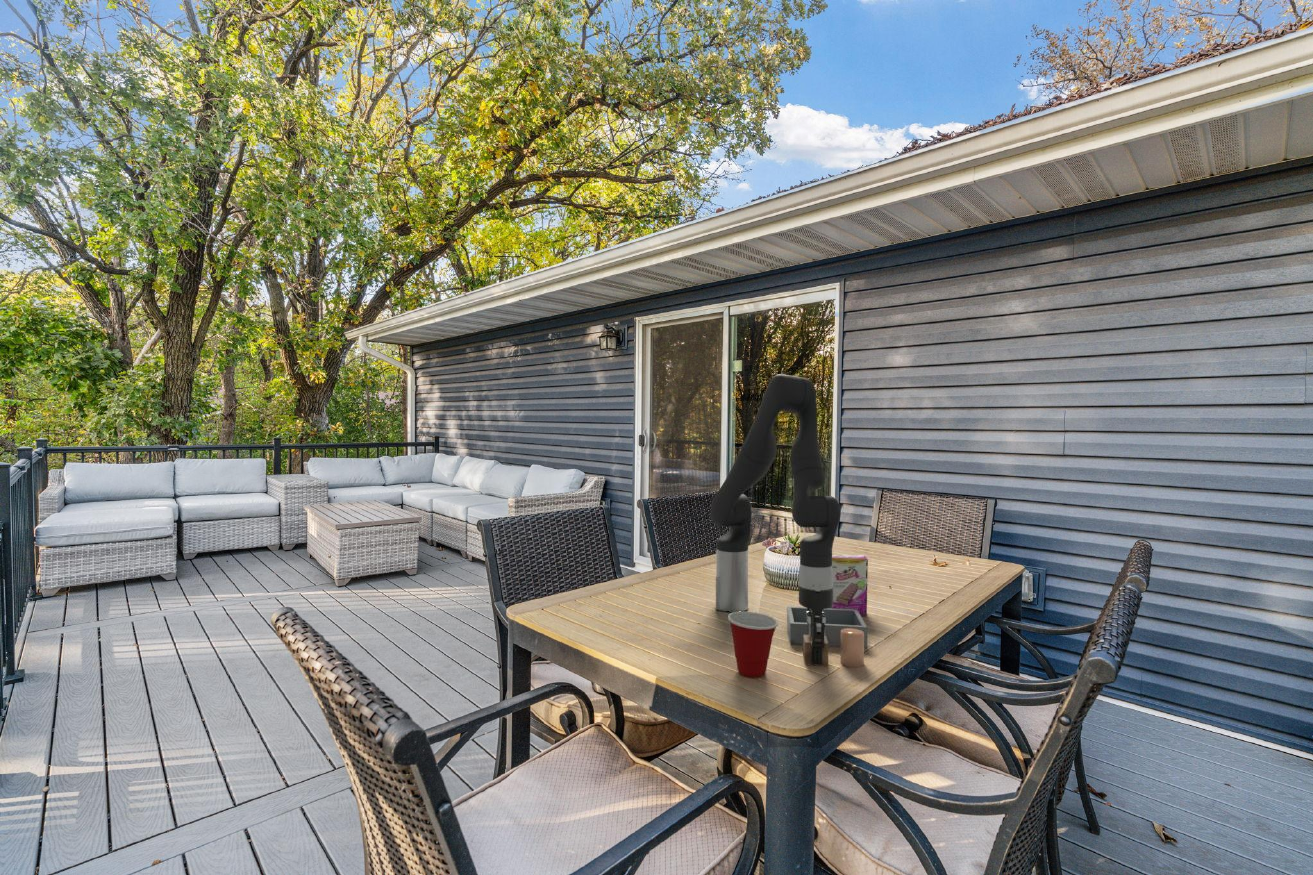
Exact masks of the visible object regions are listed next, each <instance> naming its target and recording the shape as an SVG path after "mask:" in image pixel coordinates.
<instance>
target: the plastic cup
mask: <svg viewBox="0 0 1313 875" xmlns="http://www.w3.org/2000/svg"><path fill="white" fill-rule="evenodd" d="M727 616H728V617H727V619H728V621H729V625H730V628H731V629H730V630H731V634H732V642H733V649H734V656H735V660H736V666H737V671H738V674H740V675H741V676H743V677H745V678H750V679H751V678H752V679H756V678H757V679H758V678H762V677H764V676H765V675H766V672H767V667H768V660H769V659H770V651H771V649H772V648H771V647H772V642H773V637H774V634H775V631H776V628H777V627H778V626H779V621H778V620H777V619H776V618H774V617H773V616H769V615H767V614H765V613H760V612H756V611H755V612H753V611H741V612H730V613H729V614H727Z"/></svg>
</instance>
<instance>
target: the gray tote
mask: <svg viewBox="0 0 1313 875" xmlns="http://www.w3.org/2000/svg"><path fill="white" fill-rule="evenodd" d="M806 611H808V609H807V608H806V607H803V606H786V628H787V633H788V638H789V644H790V645H803V635H808V633H809V632H808V630H807V619H806ZM822 612H824V615H825V617H826V623H825V636H826V638H827V641H828V647H839V648H841V630H842V629H845V628H853V629H858V630H861V631H863V632H864V649H868V626H867V624H866V623H865V621H864V619H863V616H860V614H859V612H858V610H852V609H831V608H828V609H823V610H822Z"/></svg>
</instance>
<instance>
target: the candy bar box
mask: <svg viewBox="0 0 1313 875" xmlns="http://www.w3.org/2000/svg"><path fill="white" fill-rule="evenodd" d="M868 560H869V559H868V558H867V556H865V555H864V554H863V555H861V554H836V553H832V570H833V606H832V607H830V608H831V609H852V610H858V612H859V614H860V616H861V617H867V614H868V610H867V609H868V568H869V566H868V565H869V564H868V562H869V561H868Z"/></svg>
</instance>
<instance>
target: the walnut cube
mask: <svg viewBox="0 0 1313 875" xmlns="http://www.w3.org/2000/svg"><path fill="white" fill-rule="evenodd" d="M815 642H820V639H815ZM824 645H825V646H824V648H822V664H821V665H820V666H823V667H825V666H827V667H828V666H829V646H828V641H827V638H826V636H824ZM802 646H803V647H802V650H803V651H802V653H803V654H802V657H803V661H804V665H806V666H807V665H809V666H819V665H818V664H813V663H812V647H811V636H809V635H803V644H802Z"/></svg>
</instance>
